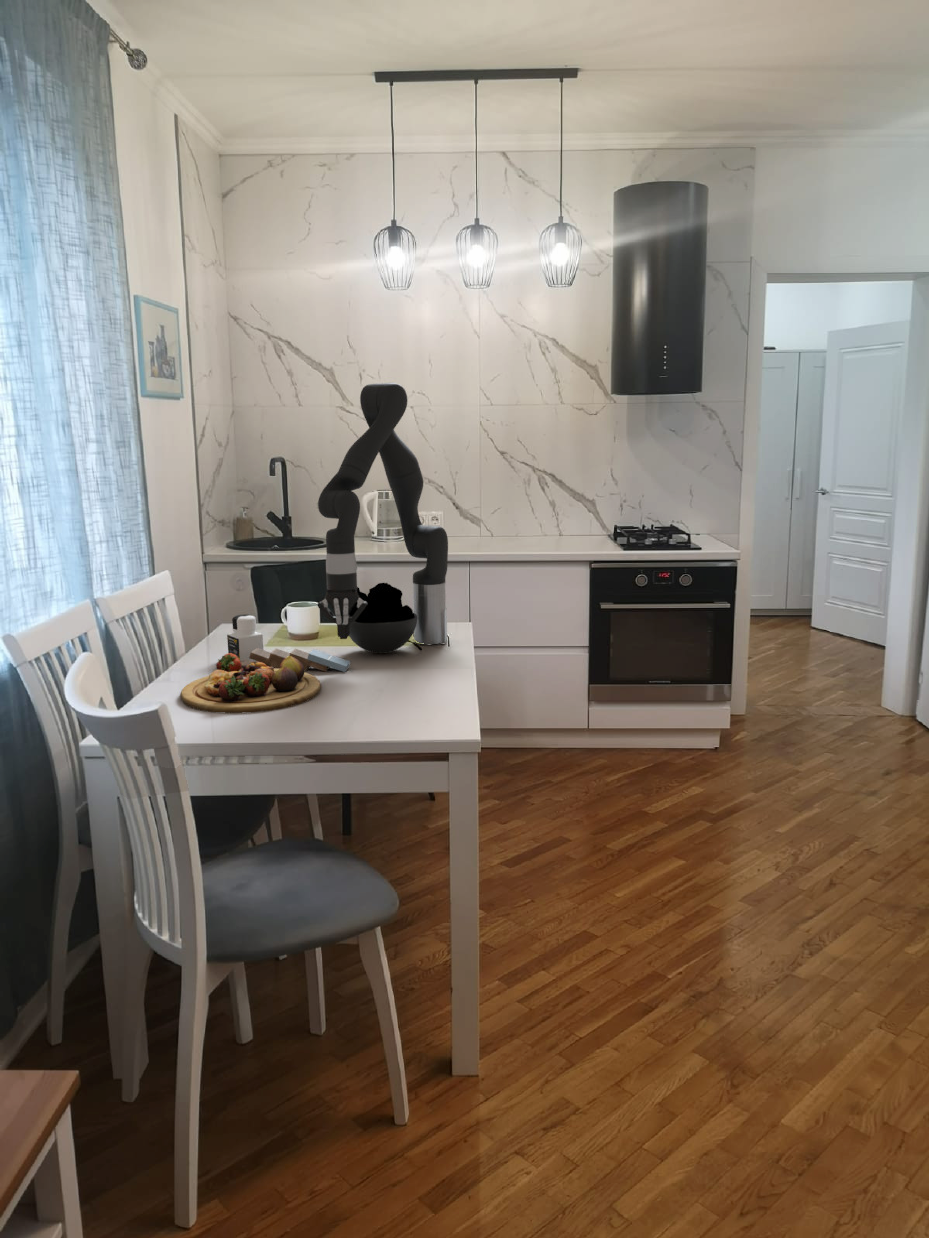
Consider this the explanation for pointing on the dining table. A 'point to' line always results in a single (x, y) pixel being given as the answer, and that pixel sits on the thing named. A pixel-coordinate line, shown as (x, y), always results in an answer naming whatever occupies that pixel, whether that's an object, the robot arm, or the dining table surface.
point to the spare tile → (328, 660)
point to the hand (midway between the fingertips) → (343, 638)
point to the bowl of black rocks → (382, 620)
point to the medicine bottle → (244, 637)
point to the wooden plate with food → (251, 687)
